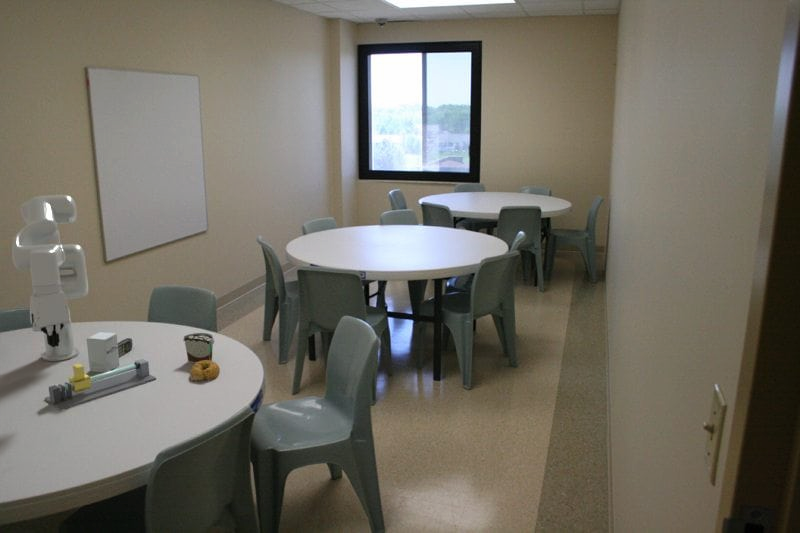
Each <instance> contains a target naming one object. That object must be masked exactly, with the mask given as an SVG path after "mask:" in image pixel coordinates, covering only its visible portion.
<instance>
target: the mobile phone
mask: <svg viewBox="0 0 800 533" xmlns="http://www.w3.org/2000/svg"><path fill="white" fill-rule="evenodd" d="M117 344H118V355H119V358H121V357H122V356H124V355H126V354H127V353H129V352H130V351H131V350H132V349H133V345H134V344H133V339H132V338H130V337H129V338H125V339H123V340H120V341H119V342H117Z"/></svg>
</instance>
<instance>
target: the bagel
mask: <svg viewBox="0 0 800 533" xmlns="http://www.w3.org/2000/svg"><path fill="white" fill-rule="evenodd" d="M190 369H191V370H190V372H189V376H190V379H191V380H192V381H195V382H197V381H198V382H199V381H204V380H207V381H208V379H210V380H212V378H213V379H216V378H217V377H218V376H219V375H220V371H221V369H220V366H219V364H218V363H217V362H215V361H213V360H212V361H210V360H203V361H199V362H197V363H194V365H193V366H191V368H190Z"/></svg>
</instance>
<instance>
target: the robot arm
mask: <svg viewBox="0 0 800 533" xmlns="http://www.w3.org/2000/svg"><path fill="white" fill-rule="evenodd" d="M20 214H21V216H22V218H23V221H24V222H25V224H26V226H25V227H23V228H22V229H20V230H19V231H18V232H17V233H16V234H15V235H14V237H13V240H12V246H11V247H12V249H11V251H12V252H11V253H12V254H11V256H12V263H13V266H14V267H15V268H16V269H18V270H20V271H26V270H27V271H29V270H30V275H31V276H30V277H31V284H32V290H33V291H32V292H33V294H30V299H29V319H30V324H31V325H32V331H33V332H37V333H40V332H41V333H43V338H44V346H45V347H44V348H45V351H44V352H43V353H42V354H41V359H42V360H44V361H46V362H59V361H65V360H69V359H72V358H75V357H77V356H78V355H79V353H80V350H79V348H78V347H75V345H74V338H73V337H74V336H73V335H74V334H73V328H72V327H73V326H72V319H71V310H70V308H69V305H68V301H67V300H69V299H79V298H83V297H85V296H87V295H88V293H89V282H88V281H89V280H88V272H87V264H86V263H87V262H86V257H85V252H84V250H83V247H82V246H81V245H80V244H75V243H71V244H62V243H61V237H60V236H61V234H60V231H59V229H58V224H70V223H71V224H72V223H74V222H75V221H76V220H77V216H78V215H77V214H78V211H77V205H76V202H75V200H74V198H73V197H72V196H70V195H66V194H55V195H54V194H51V195H38V196H35V197H31V198H30V199H29V201H26V202H24V203H22V204H21V206H20ZM61 271H72V272H70V273H69V272H68V273H60V272H61Z"/></svg>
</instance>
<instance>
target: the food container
mask: <svg viewBox="0 0 800 533" xmlns="http://www.w3.org/2000/svg"><path fill="white" fill-rule="evenodd" d="M183 342H184V345H185V350H186V358H187V362H188V363H193V362H196V363H197V362H199V361H203V360H210V361H213V348H214V347H213V345H214V344H215V338H214V336H213V335H212V334H210V333H207V332H193V333H189V334H187V335H183ZM196 363H195V364H196Z"/></svg>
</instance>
